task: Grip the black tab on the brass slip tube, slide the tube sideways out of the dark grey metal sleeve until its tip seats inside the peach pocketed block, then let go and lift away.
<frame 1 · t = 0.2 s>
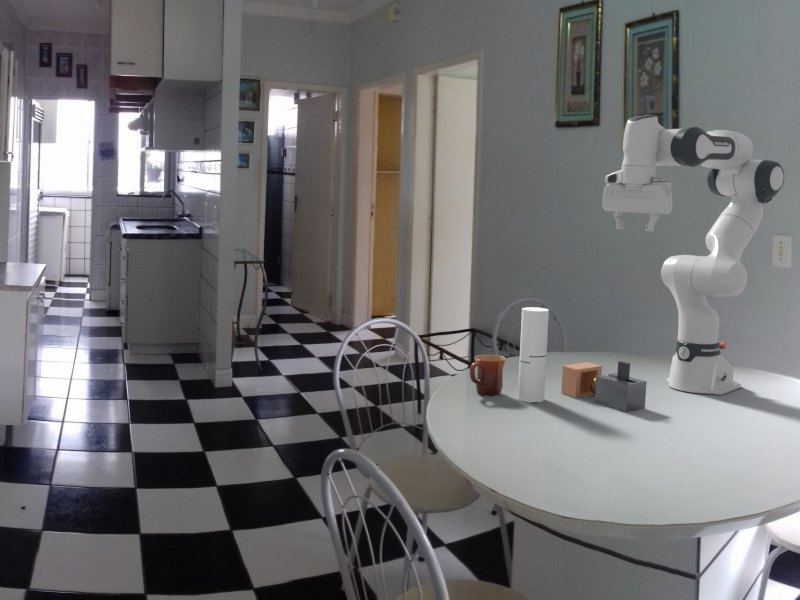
hand: (634, 230, 213), 47 cm above the table, fingers open, 8 cm apart
sleeve: (618, 405, 216), on the table
slip tube: (614, 379, 217), point 7 cm above the table, slide at 0.0 cm
mug: (484, 395, 224), on the table
cylindrical container: (530, 399, 220), on the table
peach pocketed block: (580, 393, 227), on the table
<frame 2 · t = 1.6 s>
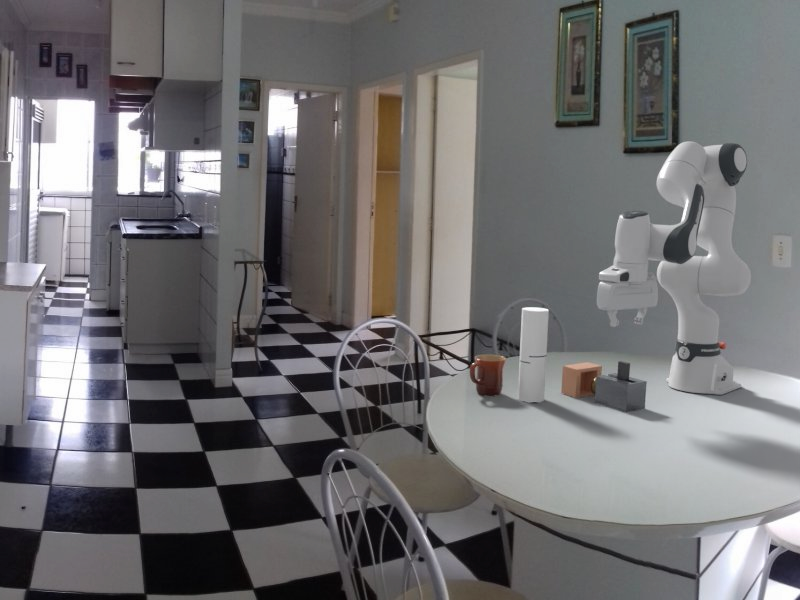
hand: (626, 325, 212), 22 cm above the table, fingers open, 8 cm apart
nothing on the table moved.
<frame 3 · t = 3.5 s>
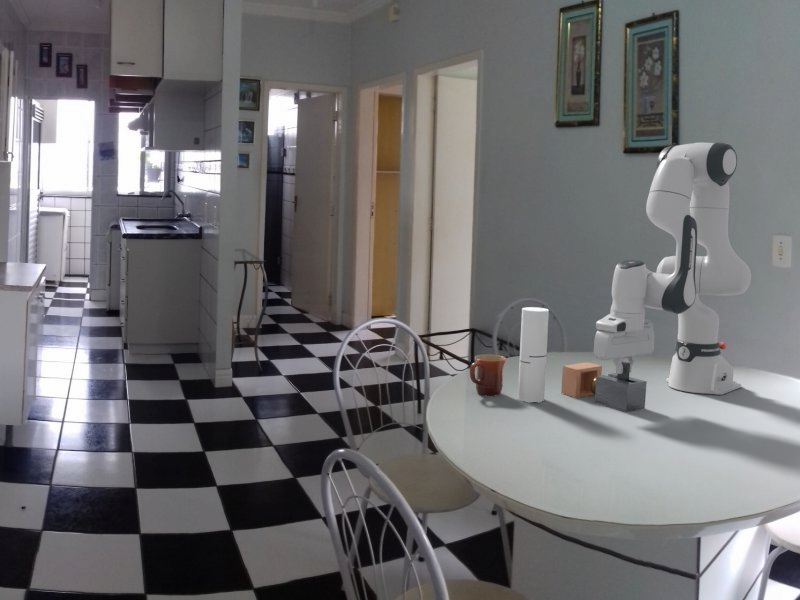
hand: (623, 372, 214), 9 cm above the table, fingers closed on slip tube
slip tube: (614, 379, 217), point 7 cm above the table, slide at 0.0 cm, touching gripper
everything else where it was.
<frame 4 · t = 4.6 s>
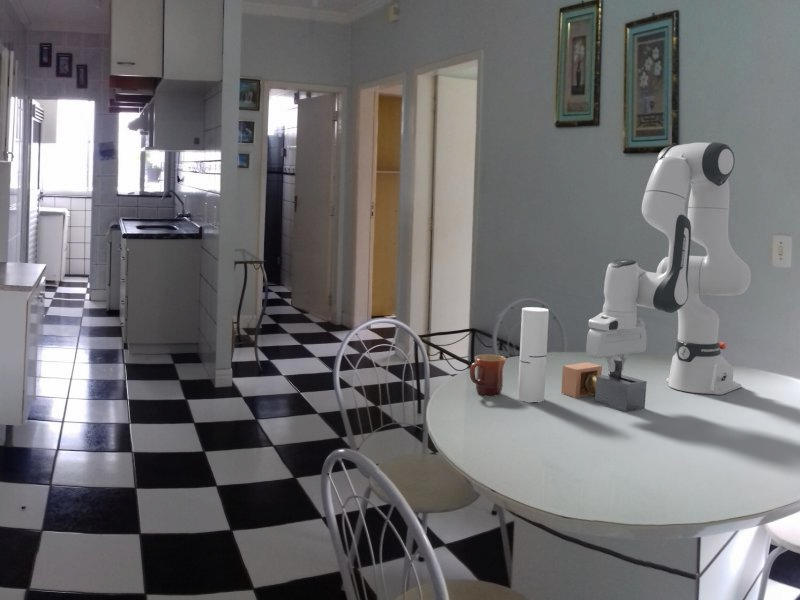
hand: (615, 370, 216), 9 cm above the table, fingers closed on slip tube
slip tube: (606, 377, 219), point 7 cm above the table, slide at 2.7 cm, touching gripper
everything else where it was.
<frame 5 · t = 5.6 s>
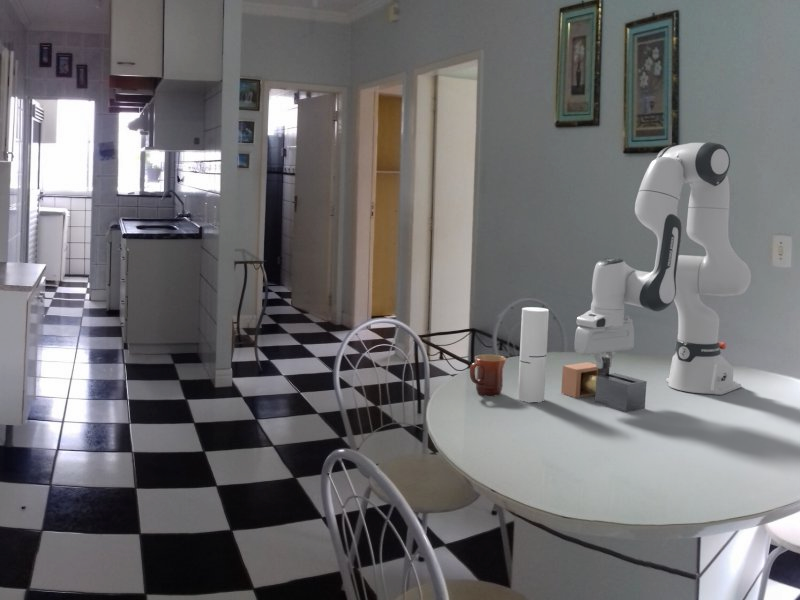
hand: (603, 367, 220), 9 cm above the table, fingers closed on slip tube
slip tube: (594, 374, 223), point 7 cm above the table, slide at 6.9 cm, touching gripper
everything else where it was.
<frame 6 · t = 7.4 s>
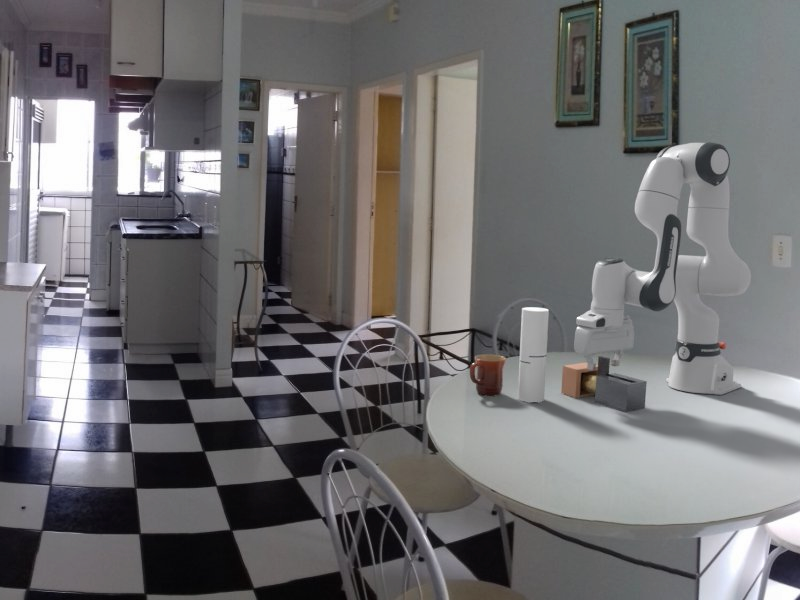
hand: (603, 367, 220), 9 cm above the table, fingers open, 8 cm apart
slip tube: (594, 374, 223), point 7 cm above the table, slide at 7.0 cm
everything else where it was.
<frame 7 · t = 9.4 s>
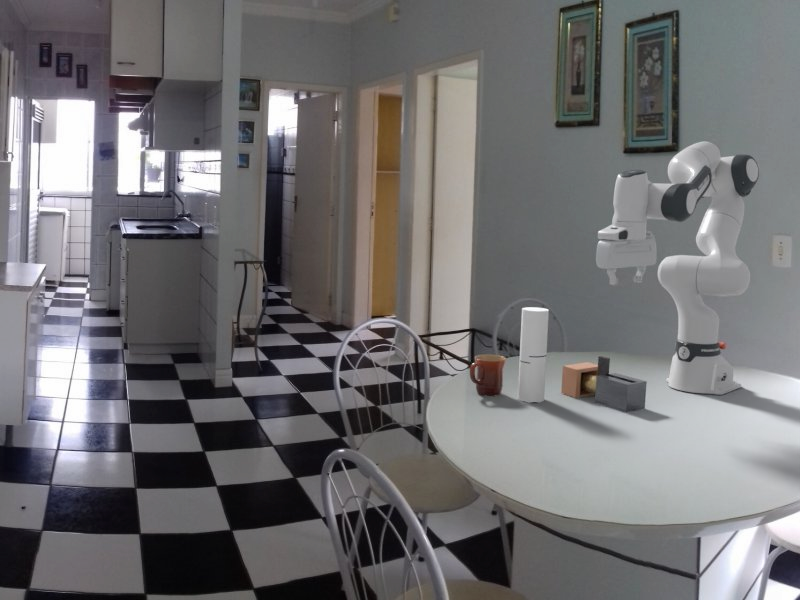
hand: (625, 283, 215), 33 cm above the table, fingers open, 8 cm apart
nothing on the table moved.
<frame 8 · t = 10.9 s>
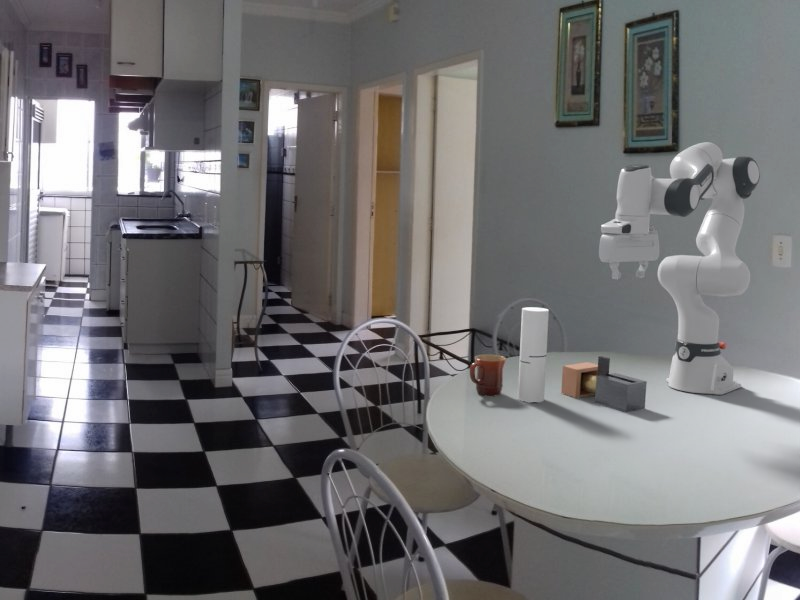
hand: (628, 278, 215), 34 cm above the table, fingers open, 8 cm apart
nothing on the table moved.
at the end: slip tube slide at 7.0 cm; the gripper is holding nothing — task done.
